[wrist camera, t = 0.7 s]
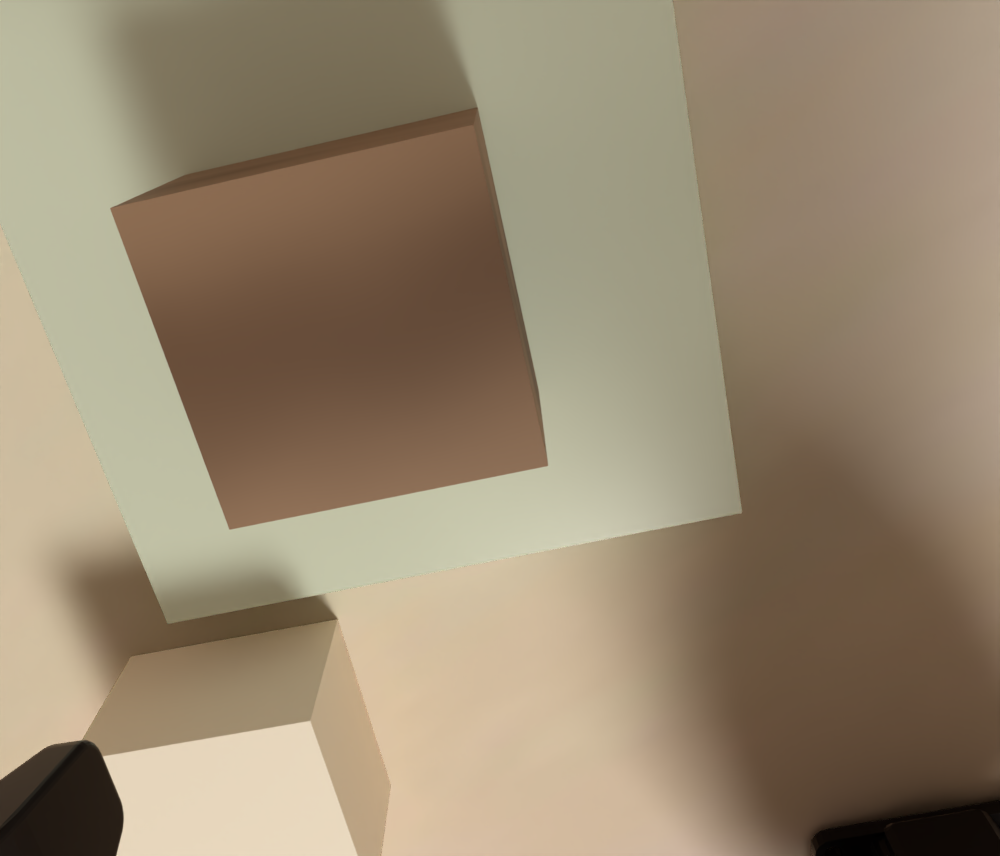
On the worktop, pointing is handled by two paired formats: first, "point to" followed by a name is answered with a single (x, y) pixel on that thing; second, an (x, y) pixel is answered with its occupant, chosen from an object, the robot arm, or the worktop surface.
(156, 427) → the baseplate
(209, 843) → the brick cream
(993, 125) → the worktop surface
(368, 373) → the brick walnut
